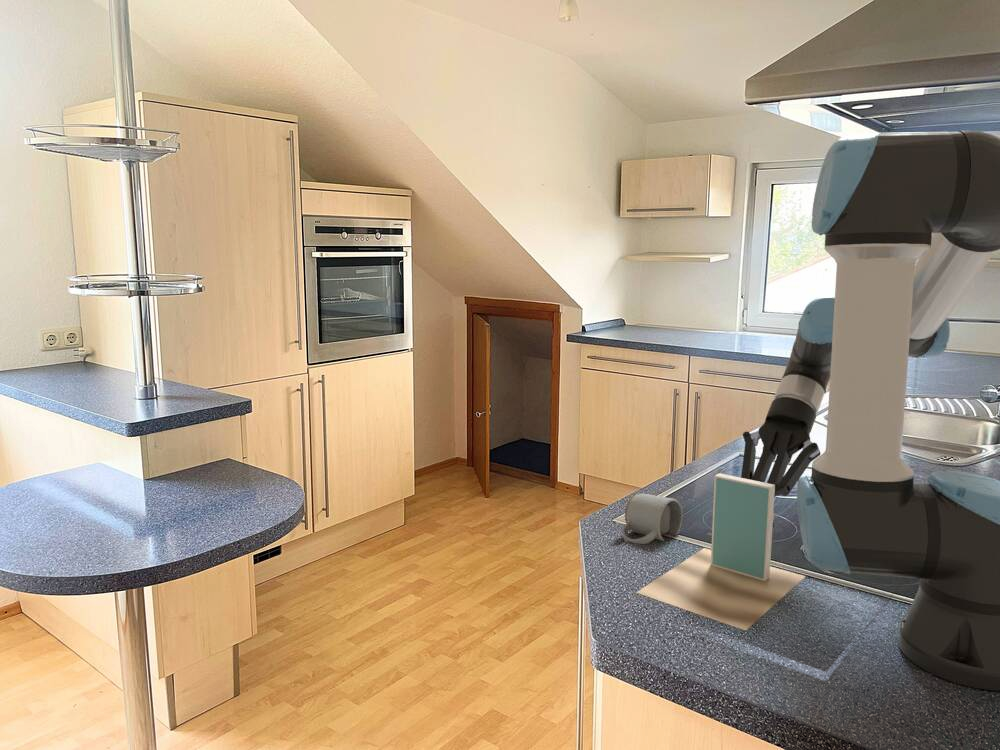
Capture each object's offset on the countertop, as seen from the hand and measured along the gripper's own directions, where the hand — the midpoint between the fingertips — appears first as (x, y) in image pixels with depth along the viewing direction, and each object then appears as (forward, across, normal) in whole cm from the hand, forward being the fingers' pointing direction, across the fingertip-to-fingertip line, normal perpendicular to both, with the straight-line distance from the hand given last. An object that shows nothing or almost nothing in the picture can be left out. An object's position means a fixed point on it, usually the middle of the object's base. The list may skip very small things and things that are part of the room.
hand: (748, 526), depth 121 cm
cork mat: (+12, 0, +2) cm, 12 cm away
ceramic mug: (+5, +18, -6) cm, 20 cm away
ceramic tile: (+7, 0, -2) cm, 7 cm away
